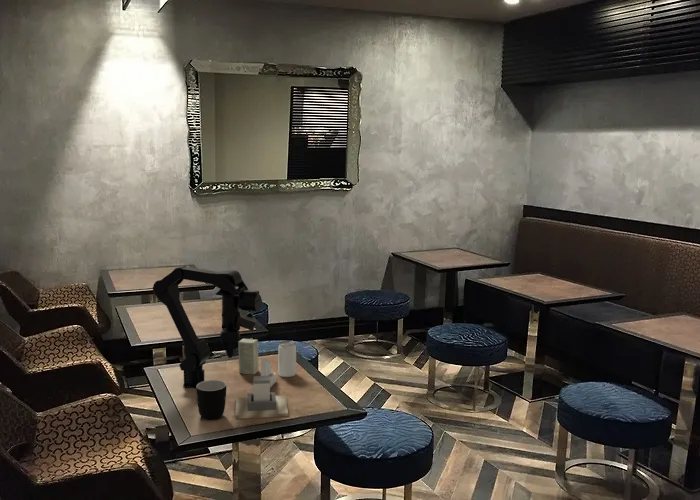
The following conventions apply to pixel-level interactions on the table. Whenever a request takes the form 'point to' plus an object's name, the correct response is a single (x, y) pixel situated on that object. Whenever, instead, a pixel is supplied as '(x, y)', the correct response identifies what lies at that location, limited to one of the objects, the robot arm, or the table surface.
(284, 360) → the can
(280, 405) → the board
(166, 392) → the table surface
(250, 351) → the skincare box
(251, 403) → the back box
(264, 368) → the white angled block
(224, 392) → the mug
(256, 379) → the grey block
